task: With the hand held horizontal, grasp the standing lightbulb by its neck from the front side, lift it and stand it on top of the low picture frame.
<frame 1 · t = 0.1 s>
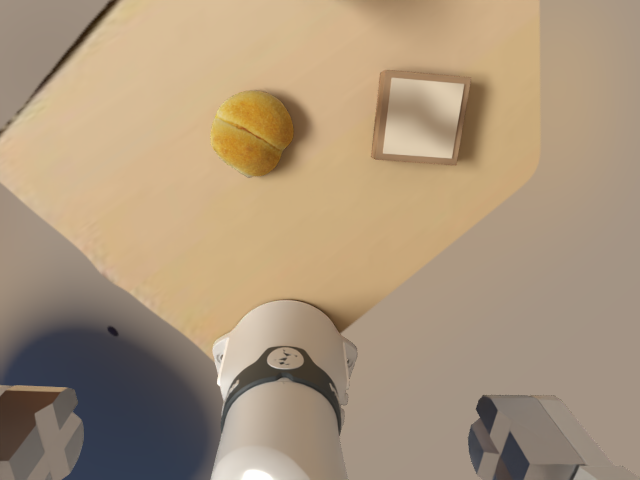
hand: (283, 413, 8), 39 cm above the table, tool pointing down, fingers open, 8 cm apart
picture frame: (414, 119, 44), on the table
bread roll: (253, 134, 44), on the table
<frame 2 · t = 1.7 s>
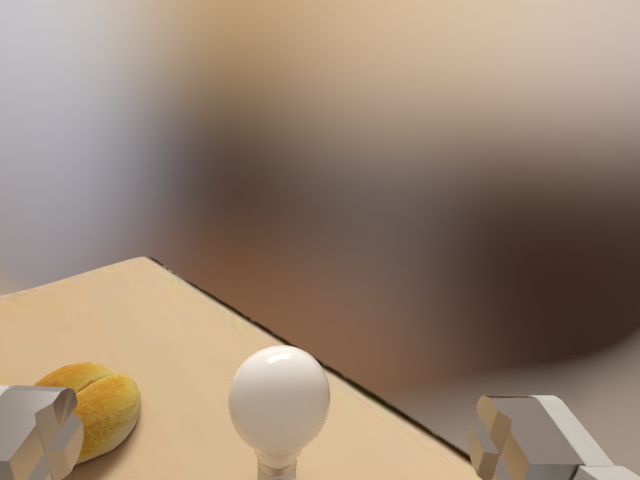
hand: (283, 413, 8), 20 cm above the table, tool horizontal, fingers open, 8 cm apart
bread roll: (81, 424, 31), on the table
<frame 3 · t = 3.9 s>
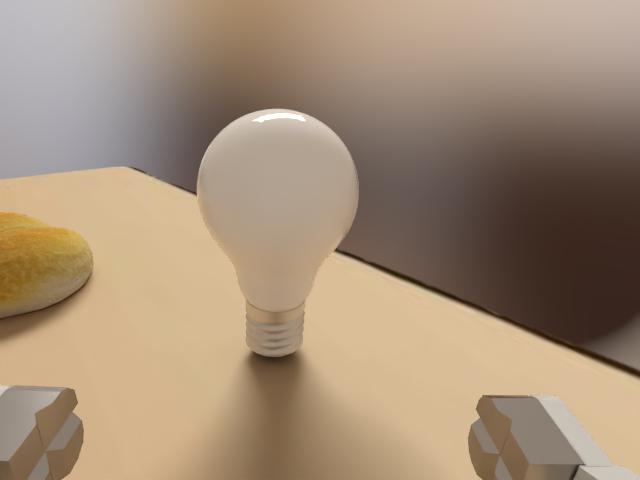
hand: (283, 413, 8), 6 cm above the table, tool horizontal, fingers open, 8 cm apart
bread roll: (9, 288, 23), on the table
lightbulb: (274, 352, 19), on the table
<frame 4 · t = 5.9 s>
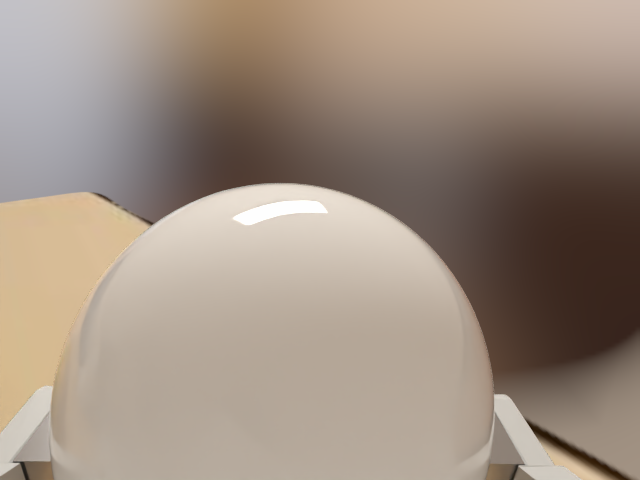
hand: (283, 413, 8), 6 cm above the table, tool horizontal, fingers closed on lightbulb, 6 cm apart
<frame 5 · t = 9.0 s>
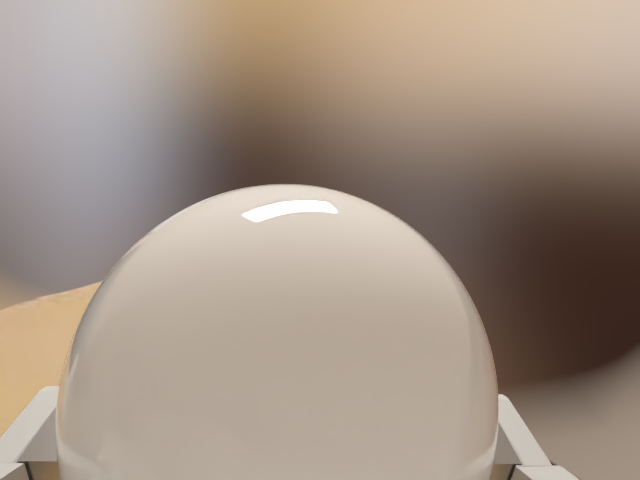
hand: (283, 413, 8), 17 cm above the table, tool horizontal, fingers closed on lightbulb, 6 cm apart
when the fingers open (10 cm above the table, at t = 11.9 s): lightbulb stays where it is, resting on picture frame.
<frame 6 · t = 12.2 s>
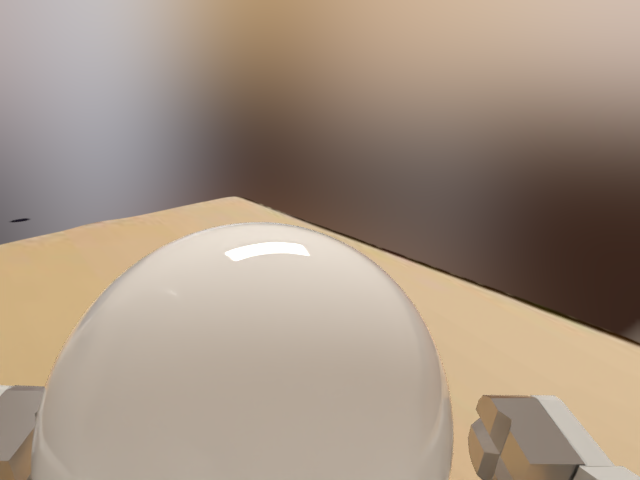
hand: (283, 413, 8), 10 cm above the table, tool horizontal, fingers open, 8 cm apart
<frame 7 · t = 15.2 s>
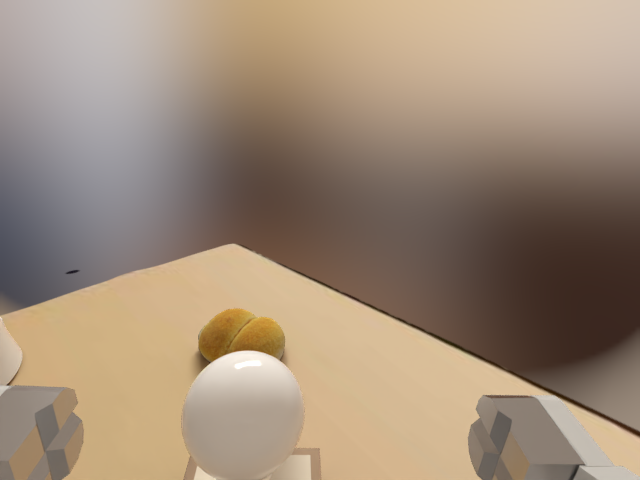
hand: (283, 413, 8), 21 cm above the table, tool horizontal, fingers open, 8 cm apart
bread roll: (242, 351, 43), on the table
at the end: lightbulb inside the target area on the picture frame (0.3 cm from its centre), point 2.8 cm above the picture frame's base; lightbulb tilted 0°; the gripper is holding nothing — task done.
